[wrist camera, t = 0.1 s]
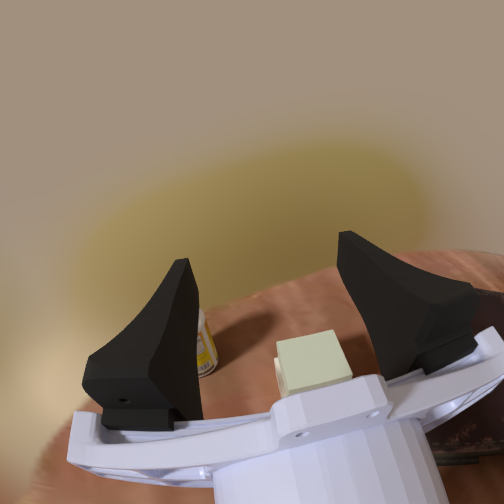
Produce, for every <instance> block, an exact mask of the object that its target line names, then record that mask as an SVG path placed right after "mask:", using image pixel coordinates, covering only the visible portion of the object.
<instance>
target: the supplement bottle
mask: <svg viewBox="0 0 504 504" xmlns="http://www.w3.org/2000/svg"><path fill="white" fill-rule="evenodd" d="M217 362H218V354H217V351H216V348H215V345H214V342H213V339H212V336H211V333H210V330H209V327H208V324H207V321H206V318H205V315H204V313H203V311H202V310H201V309H200V308H199V323H198V338H197V365H198V377H203V376H205V375H207V374H209V373H210V372H212V371H213V370H214V368H215V367H216V365H217Z"/></svg>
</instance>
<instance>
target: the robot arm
mask: <svg viewBox="0 0 504 504" xmlns="http://www.w3.org/2000/svg"><path fill="white" fill-rule="evenodd" d="M337 268H338V271H339V273H340V276H341V278H342V281H343V283H344V285H345V287H346V289H347V291H348V292H349V294H350V296H351V298H352V300H353V301H354V303H355V305H356V307H357V309H358V311H359V312H360V314H361V316H362V318H363V320H364V323H365V325H366V328H367V330H368V333H369V335H370V338H371V341H372V344H373V347H374V350H375V353H376V356H377V360H378V363H379V367H380V371H381V375H382V376H380V375H377V374H369V375H364V376H360V377H356V378H353V379H350V380H346V381H342V382H339V383H335V384H331V385H327V386H323V387H319V388H315V389H311V390H306V391H302V392H298V393H295V394H291V395H288V396H285V397H283V398H282V399H280V400H278V401H277V402H275V403H274V404H273V406H272V408H271V410H270V412H265V413H259V414H253V415H246V416H238V417H230V418H221V419H210V420H204V419H203V412H202V405H201V397H200V389H199V378H198V365H197V338H198V323H199V292H198V288H197V284H196V281H195V278H194V275H193V272H192V269H191V266H190V262H189V259H188V258H184V259H178V260H175V262H174V263H173V265H172V266H171V268H170V270H169V271H168V273H167V275H166V276H165V278H164V280H163V281H162V283H161V284H160V286H159V287H158V289H157V291H156V292H155V293H154V295H153V296H152V298H151V299H150V301H149V302H148V303H147V304H146V306H145V307H144V308H143V309H142V311H141V312H140V313H139V314H138V315H137V316H136V318H135V319H134V320H133V321H132V322H131V323H130V324H129V325H128V326H127V327H126V328H125V329H124V330H123V331H122V332H120V333H119V334H118V335H117V336H116V337H115V338H113V339H112V340H111V341H110V342H109V343H107V344H106V345H105V346H103V347H102V348H100V349H99V350H97V351H96V352H95V353H93V354H92V355H90V356H89V357H88V361H87V364H86V368H85V372H84V376H83V380H82V386H83V389H84V390H85V392H86V393H87V394H88V395H89V396H90V397H91V398H92V399H93V400H95V401H96V402H97V403H98V404H99V405H100V406H101V407H103V414H102V415H101V414H99V413H96V412H86V411H74V416H73V422H72V428H71V434H70V440H69V447H68V455H67V461H68V462H69V463H71V464H73V465H76V466H78V467H80V468H82V469H84V470H86V471H88V472H91V473H93V474H95V475H98V476H100V477H105V478H111V479H117V480H124V481H131V482H138V483H146V484H154V485H164V486H177V487H198V488H214V496H215V504H449V501H448V497H447V494H446V491H445V488H444V485H443V482H442V479H441V476H440V474H439V471H438V468H437V465H436V462H435V460H434V457H433V454H432V452H431V449H430V446H429V444H428V441H427V439H426V436H425V433H426V432H428V431H430V430H432V429H434V428H435V427H437V426H439V425H441V424H442V423H444V422H446V421H447V420H449V419H451V418H452V417H454V416H455V415H457V414H459V413H460V412H462V411H463V410H465V409H466V408H468V407H469V406H471V405H472V404H474V403H475V402H477V401H478V400H480V399H481V398H483V397H484V396H486V395H487V394H489V393H490V392H491V391H492V390H493V389H494V388H495V387H496V386H497V385H498V384H499V383H500V382H501V381H502V380H503V379H504V341H503V340H502V338H501V337H500V335H499V334H498V333H497V331H496V330H495V328H494V327H493V326H491V327H489V328H487V329H485V330H483V331H482V332H480V333H478V334H477V335H476V336H475V337H473V335H472V334H471V332H472V331H473V328H472V326H471V325H470V322H471V320H472V319H473V317H474V315H475V313H476V311H477V309H478V307H479V304H480V295H479V294H478V292H477V291H476V290H475V289H474V288H473V286H472V285H471V284H470V283H467V282H462V281H457V280H452V279H449V278H445V277H441V276H438V275H435V274H432V273H429V272H427V271H424V270H421V269H419V268H416V267H414V266H412V265H410V264H408V263H405V262H403V261H401V260H399V259H398V258H396V257H394V256H392V255H390V254H389V253H387V252H385V251H383V250H382V249H380V248H378V247H377V246H375V245H374V244H372V243H370V242H369V241H367V240H366V239H364V238H362V237H361V236H359V235H357V234H356V233H354V232H352V231H344V232H339V242H338V256H337Z"/></svg>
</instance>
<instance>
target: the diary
mask: <svg viewBox="0 0 504 504" xmlns="http://www.w3.org/2000/svg"><path fill="white" fill-rule="evenodd" d="M474 289H475V290H476V291H477V292H478V294H479V295H480V304H479V307H478V309H477V311H476V313H475V315H474V317H473V319H472V320H471V322H470V325H471V326H472V328H473V331H472V332H471V334H472V335H473V337H475V336H476V335H477V334H478V333H480V332H482V331H483V330H485V329H487V328H489V327H491V326H493V327H494V328H495V330H496V331H497V333H498V334H499V335H500V337H501V338H502V340H503V341H504V293H501V292H495V291H488V290H483V289H478V288H474ZM425 436H426V439H427V441H428V444H429V446H430V449H431V452H432V454H433V457H434V460H435V462H436V465H437V466H453V465H467V464H477V463H479V456H487V455H495V454H503V453H504V379H503V380H502V381H501V382H500V383H499V384H498V385H497V386H496V387H495V388H494V389H493V390H492V391H491V392H490V393H489V394H487V395H486V396H484V397H483V398H481V399H480V400H478V401H477V402H475V403H474V404H472V405H471V406H469V407H468V408H466V409H465V410H463V411H462V412H460V413H459V414H457V415H455V416H454V417H452V418H451V419H449V420H447V421H446V422H444V423H442V424H441V425H439V426H437V427H435V428H434V429H432V430H430V431H428V432H426V433H425Z"/></svg>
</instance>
